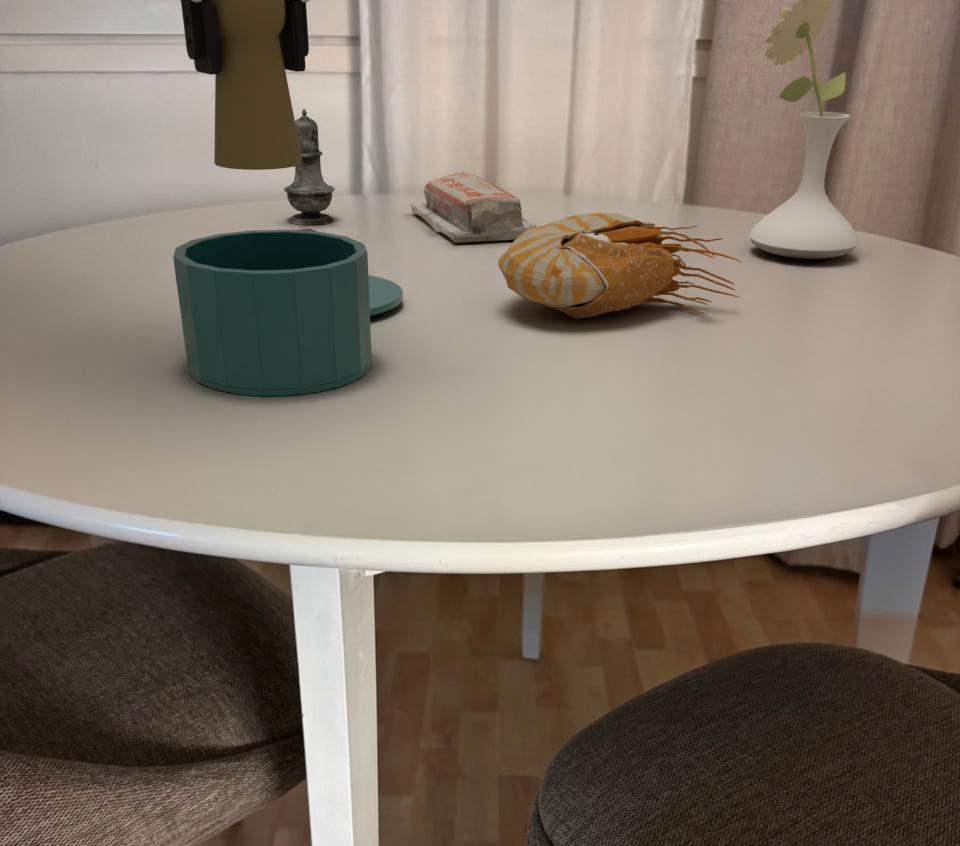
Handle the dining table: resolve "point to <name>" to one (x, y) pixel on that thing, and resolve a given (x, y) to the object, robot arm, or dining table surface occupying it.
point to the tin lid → (381, 293)
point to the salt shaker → (309, 178)
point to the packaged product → (471, 209)
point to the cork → (253, 89)
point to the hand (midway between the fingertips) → (250, 68)
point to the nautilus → (599, 264)
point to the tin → (274, 311)
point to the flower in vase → (807, 149)
